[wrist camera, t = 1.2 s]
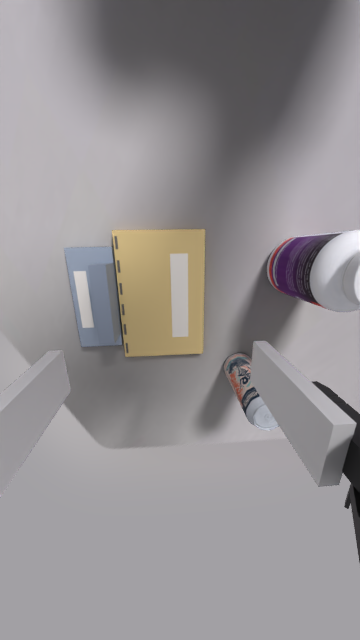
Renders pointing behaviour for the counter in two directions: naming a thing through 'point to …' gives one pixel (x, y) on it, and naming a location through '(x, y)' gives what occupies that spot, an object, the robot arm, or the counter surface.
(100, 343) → the stub
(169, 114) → the counter surface
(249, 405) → the beer can
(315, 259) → the pill bottle
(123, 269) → the tan notebook
